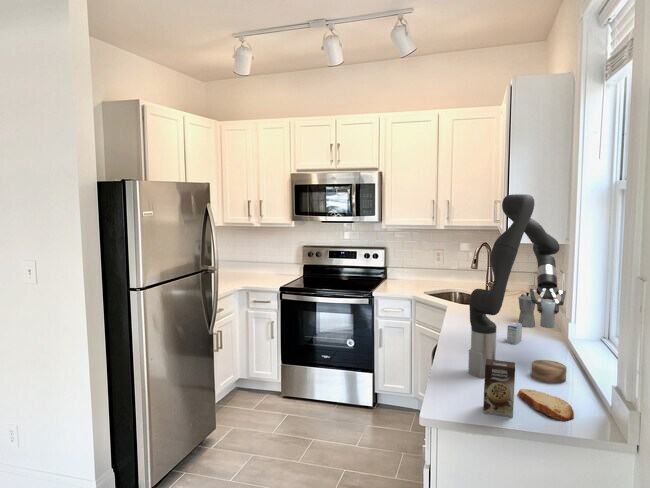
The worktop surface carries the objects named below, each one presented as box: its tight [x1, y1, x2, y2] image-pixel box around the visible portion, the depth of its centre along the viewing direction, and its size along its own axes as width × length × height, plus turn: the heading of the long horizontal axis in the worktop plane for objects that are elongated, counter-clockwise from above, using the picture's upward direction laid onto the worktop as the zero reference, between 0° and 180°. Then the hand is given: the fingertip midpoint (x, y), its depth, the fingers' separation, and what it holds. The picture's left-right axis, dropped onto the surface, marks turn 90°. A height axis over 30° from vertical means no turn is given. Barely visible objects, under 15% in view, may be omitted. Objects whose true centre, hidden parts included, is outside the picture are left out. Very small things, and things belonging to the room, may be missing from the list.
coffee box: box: [482, 359, 516, 418], centre depth 152 cm, size 9×6×16 cm
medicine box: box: [506, 321, 523, 345], centre depth 226 cm, size 8×4×9 cm, turn 141°
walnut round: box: [530, 359, 567, 384], centre depth 181 cm, size 12×12×5 cm
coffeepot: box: [517, 292, 536, 329], centre depth 256 cm, size 15×9×18 cm, turn 176°
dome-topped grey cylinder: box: [539, 300, 556, 329], centre depth 192 cm, size 5×5×10 cm
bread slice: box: [516, 388, 575, 422], centre depth 156 cm, size 18×18×4 cm
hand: (548, 312), depth 190 cm, fingers closed on dome-topped grey cylinder, 5 cm apart
